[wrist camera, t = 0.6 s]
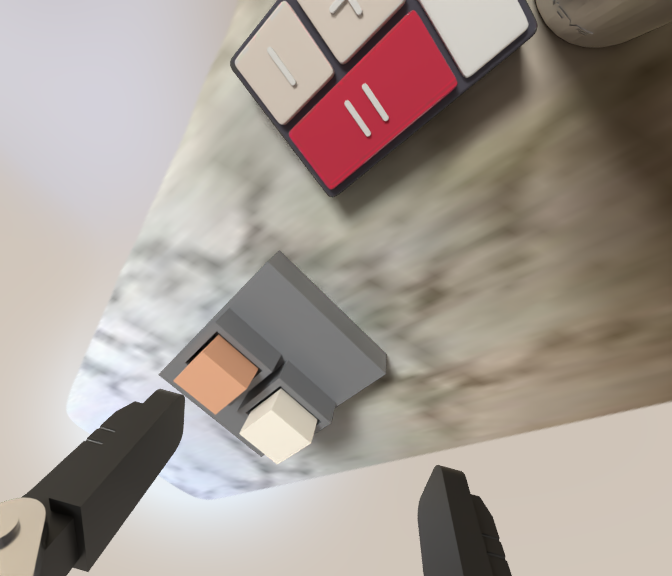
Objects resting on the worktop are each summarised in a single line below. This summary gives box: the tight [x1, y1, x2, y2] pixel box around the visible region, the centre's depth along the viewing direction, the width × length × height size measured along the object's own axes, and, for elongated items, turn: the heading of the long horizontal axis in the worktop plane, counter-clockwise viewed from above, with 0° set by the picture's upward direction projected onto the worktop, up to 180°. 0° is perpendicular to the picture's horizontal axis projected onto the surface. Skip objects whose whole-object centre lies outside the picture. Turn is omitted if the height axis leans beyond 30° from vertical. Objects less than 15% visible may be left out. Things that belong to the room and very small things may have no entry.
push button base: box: [159, 250, 386, 457], centre depth 31 cm, size 18×14×6 cm
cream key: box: [239, 389, 317, 464], centre depth 28 cm, size 4×4×2 cm
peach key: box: [174, 335, 258, 415], centre depth 27 cm, size 4×4×2 cm
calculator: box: [230, 0, 537, 197], centre depth 20 cm, size 11×4×15 cm
